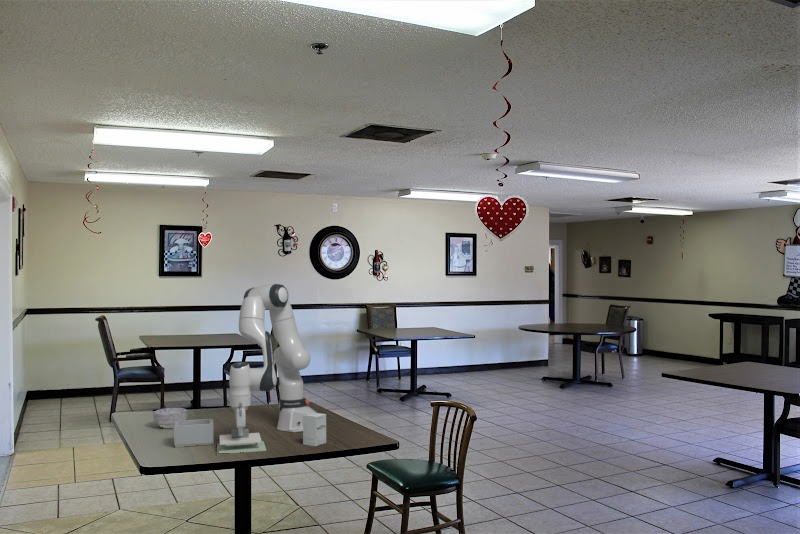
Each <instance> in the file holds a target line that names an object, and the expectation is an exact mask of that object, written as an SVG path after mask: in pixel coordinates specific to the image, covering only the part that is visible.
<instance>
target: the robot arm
mask: <svg viewBox="0 0 800 534" xmlns="http://www.w3.org/2000/svg"><path fill="white" fill-rule="evenodd" d="M241 302H242V303H241V305H240V309H239V310H240V311H239V317H238V332H239V334H240V335H241V336H242V338H244V339H246V340H248V341H250V342H253V343H254V344H257V345H259V347H260V348H261V350H262V361H263V366H262V367H250V364H249V362H246V361H238V362H234V363H232V364H231V366H230V368H229V369H230V370H229V376H228V377H229V380H228V381H229V382H228V384H229V389H230V390H229V394H228V396H229V401H228V403H229V404H228V405H229V407H231V408H232V410H233V413H234V418H235V425H236V428H237V429H238V435H239V436H242V435H243V429H245V428H246V427H247V426H246V425H247V424H246V417H247V416H246V413H247V412H246V410H249V407H250V406H251V405H252V397H251V396H252V395H251V394H252V393H251V391H253V392H254V391H255V392H257V391H260V392H266V393H267V392H268V393H269V392H270V391H272V390H273V389H274V388H275V387H276V385H277V382H278V381H277V376H278V380H279V399H278V410H279V411H278V412H279V414H278V416H279V417H278V422H277V426H276V430H278V431H282V432H290V433H298V432H303V415H307V414H311V413H318V412H317V411H316V410H314V409H313V408H312V407H310V406H309V404H310V399H308V398H305V397H304V380H303V378H302V376H301V374H300V373H301V372H300V371H301V370H302V371H303V370H305V369H306V368H307V367H309V365H310V363H311V355H310V352H308V351H307V349H306V347H305V345H304V342H303V340H302V339H301V336H300V333H299V331H298V327H297V323H296V319H295V314H294V311H293V308H292V305H291V303H290V300H289V291H288V289H287V288H286V287H285V286H284V284H280V283H279V284H278V283H274V284H263V285H259V286H256V287H251V288H248V289H247V290H246V291H245V293H244V295H243V300H242V301H241ZM265 310H268V312H269V320H270V324H271V327H272V328H271V329H272V331H273V335H274V336H273V337H274V339H275V340H276V342H277V343H278V345H279V346H278V347H277V348H275V350H274V347H273V341H272V336H271V334H270V332H269V331H267V330H266V327H265ZM275 366H276V368H275ZM276 370H277V373H276Z"/></svg>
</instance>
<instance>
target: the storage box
mask: <svg viewBox="0 0 800 534" xmlns="http://www.w3.org/2000/svg"><path fill="white" fill-rule="evenodd" d="M173 430H174V434H173V438H174V440H173V441H174V442H173V443H174V444H173V445H176V444H215V443H214V441H215V440H214V418H202V419H188V420H182V421H176V422H175V426H174V428H173Z"/></svg>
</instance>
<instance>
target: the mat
mask: <svg viewBox="0 0 800 534" xmlns="http://www.w3.org/2000/svg"><path fill="white" fill-rule="evenodd" d="M217 444H218V446H219V447H220V448H219V449H218V450H220V451H219V453H230V454H240V452H241V454H242V452H244V453H254V452H266V451H267V448H266V445H265V442H264V440H261V442H255V444H249V445H234V446H226V445H220V443H217Z"/></svg>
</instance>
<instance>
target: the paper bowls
mask: <svg viewBox="0 0 800 534" xmlns="http://www.w3.org/2000/svg"><path fill="white" fill-rule="evenodd" d="M187 417H188V411H187V409H186V408H183V407H167V408H166V407H165V408H160V409H157V410H155V411H153V422H154V423H155V424H157V425H158V424H159V425H165V426H170V425H175V422H176V421H182V420H187V419H188V418H187ZM159 425H158V426H159Z"/></svg>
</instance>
